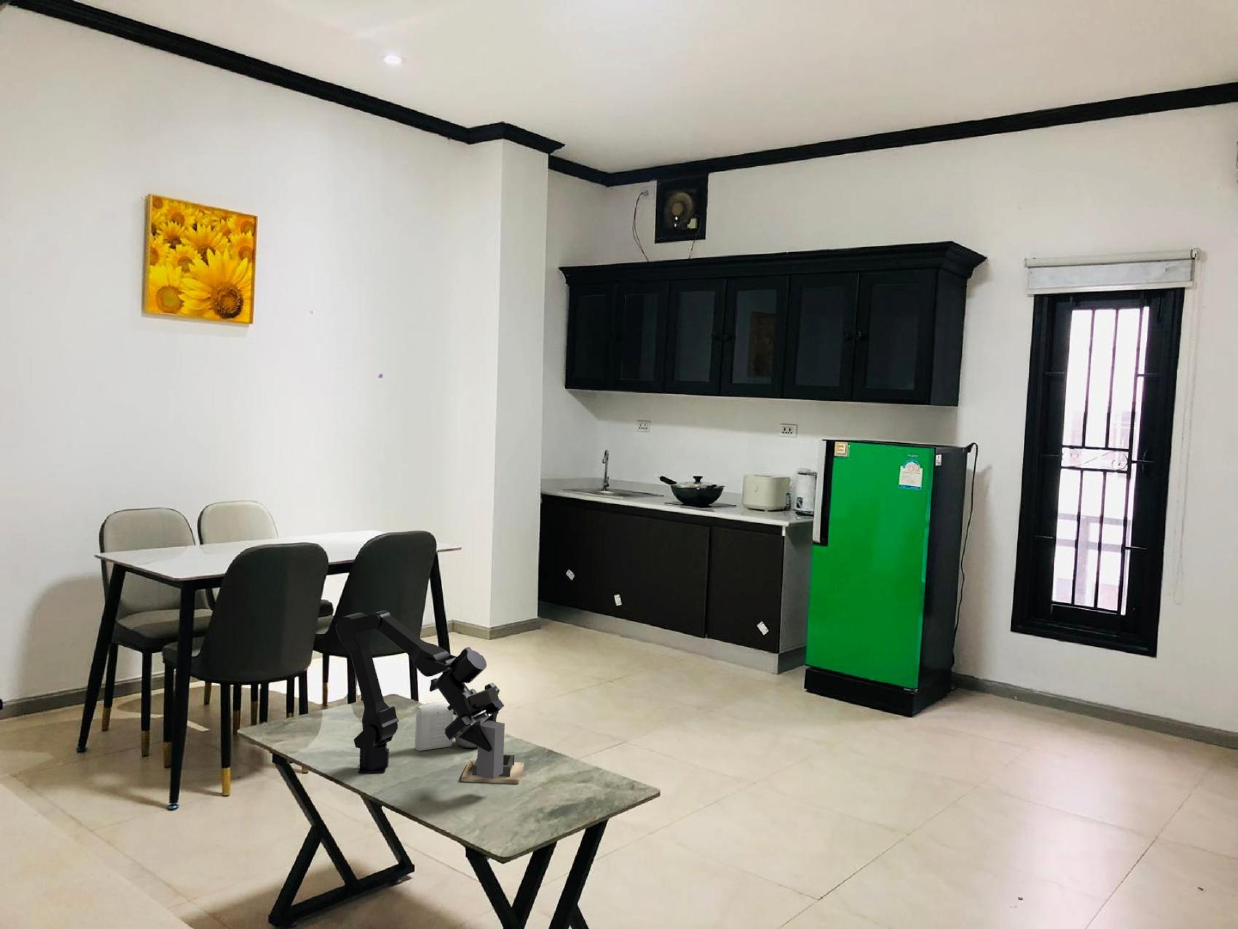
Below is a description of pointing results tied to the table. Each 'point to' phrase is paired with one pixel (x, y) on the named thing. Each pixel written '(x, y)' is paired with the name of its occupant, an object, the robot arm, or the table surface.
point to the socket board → (509, 775)
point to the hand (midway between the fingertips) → (495, 747)
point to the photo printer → (432, 725)
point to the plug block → (493, 760)
